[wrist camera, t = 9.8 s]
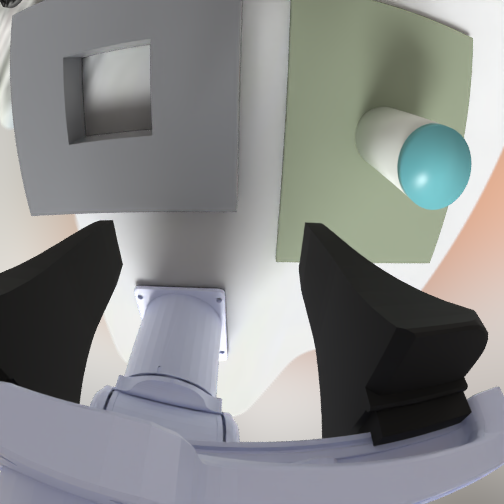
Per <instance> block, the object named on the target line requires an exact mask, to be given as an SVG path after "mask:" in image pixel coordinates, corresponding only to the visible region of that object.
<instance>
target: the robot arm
mask: <svg viewBox="0 0 504 504" xmlns="http://www.w3.org/2000/svg"><path fill="white" fill-rule="evenodd" d="M122 265H123V263H122V259H121V255H120V251H119V246H118V242H117V237H116V232H115V228H114V223H113V220H102V221H97V222H95V223H92V224H90V225H88V226H87V227H85V228H83V229H81V230H79V231H78V232H76V233H75V234H73V235H71V236H69V237H68V238H66V239H64V240H63V241H61V242H60V243H58V244H56V245H55V246H53V247H51V248H49V249H48V250H46V251H44V252H43V253H41V254H39V255H37V256H36V257H34V258H32V259H30V260H28V261H26V262H24V263H22V264H20V265H18V266H16V267H14V268H11V269H9V270H6V271H4V272H2V273H0V470H1V474H0V504H426V503H429V502H431V501H434V500H436V499H439V498H441V497H443V496H446V495H448V494H450V493H453V492H455V491H457V490H459V489H461V488H463V487H465V486H468V485H470V484H471V483H473V482H476V481H477V480H479V479H481V478H483V477H484V476H486V475H488V474H490V473H491V472H493V471H494V470H496V469H498V468H499V467H501V466H502V465H504V396H503V393H502V391H501V389H500V387H494V388H491V389H488V390H486V391H483V392H480V393H478V394H475V395H473V396H472V397H470V398H468V399H466V397H465V395H464V392H463V391H465V390H466V389H467V387H468V385H467V383H466V380H465V378H464V376H465V375H466V374H467V373H468V372H469V370H470V369H471V368H472V367H473V365H474V364H475V363H476V361H477V360H478V359H479V357H480V356H481V354H482V353H483V351H484V349H485V346H486V344H487V340H488V332H487V330H486V328H485V327H484V325H483V323H482V322H481V320H480V318H479V317H478V315H477V314H476V312H475V311H474V310H471V309H468V308H465V307H462V306H459V305H456V304H453V303H449V302H446V301H444V300H441V299H439V298H436V297H434V296H432V295H429V294H427V293H424V292H422V291H420V290H418V289H416V288H414V287H412V286H410V285H408V284H406V283H404V282H402V281H401V280H399V279H397V278H395V277H393V276H392V275H390V274H389V273H387V272H385V271H384V270H382V269H381V268H379V267H377V266H376V265H375V264H373V263H372V262H370V261H369V260H368V259H366V258H365V257H363V256H362V255H361V254H359V253H358V252H357V251H356V250H354V249H353V248H352V247H351V246H349V245H348V244H347V243H346V242H344V241H343V240H342V239H341V238H340V237H339V236H337V235H336V234H335V233H334V232H333V231H331V230H330V229H329V228H328V227H326V226H325V225H324V224H322V223H308V222H305V226H304V234H303V241H302V249H301V256H300V263H299V275H300V284H301V291H302V295H303V299H304V303H305V307H306V311H307V315H308V319H309V322H310V326H311V330H312V334H313V338H314V343H315V348H316V355H317V364H318V372H319V384H320V396H321V413H322V439H313V440H300V441H281V442H240V441H239V440H240V439H239V429H238V426H237V423H236V422H235V421H234V420H233V417H232V415H231V414H230V413H226V412H221V408H222V399H221V398H217V397H216V394H217V379H218V365H219V361H225V360H227V358H228V354H227V331H226V305H225V291H224V290H222V289H216V288H182V287H156V286H136V287H135V289H134V294H135V297H136V301H137V305H138V309H139V312H140V316H141V319H142V322H141V325H140V328H139V331H138V334H137V337H136V340H135V343H134V346H133V349H132V353H131V356H130V359H129V362H128V365H127V369H126V372H125V375H124V376H122V375H119V377H118V380H117V384H116V387H112V386H109V385H107V386H105V387H104V388H103V389H101V390H99V391H98V392H97V393H96V394H95V396H94V397H93V400H92V402H91V404H90V407H89V406H85V405H80V395H81V388H82V382H83V376H84V372H85V367H86V362H87V358H88V354H89V350H90V347H91V343H92V340H93V337H94V334H95V331H96V329H97V326H98V324H99V322H100V320H101V317H102V315H103V313H104V311H105V309H106V307H107V304H108V302H109V300H110V298H111V296H112V294H113V291H114V289H115V287H116V285H117V282H118V279H119V276H120V272H121V269H122ZM140 295H142V296H140ZM217 298H221V299H220V300H219V299H217Z"/></svg>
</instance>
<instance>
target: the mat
mask: <svg viewBox="0 0 504 504" xmlns="http://www.w3.org/2000/svg"><path fill="white" fill-rule="evenodd" d="M472 57H473V38H471V37H469V36H467V35H465V34H463V33H461V32H459V31H457V30H455V29H453V28H450V27H448V26H446V25H443V24H441V23H439V22H436V21H434V20H431V19H429V18H426V17H424V16H421V15H418V14H415V13H413V12H410V11H407V10H404V9H401V8H398V7H394V6H391V5H388V4H384V3H381V2H377V1H373V0H291V6H290V36H289V60H288V82H287V101H286V119H285V136H284V152H283V167H282V182H281V196H280V209H279V222H278V235H277V247H276V262H300V256H301V249H302V241H303V234H304V226H305V222H308V223H322V224H324V225H325V226H326V227H328V228H329V229H330V230H331V231H333V232H334V233H335V234H336V235H337V236H339V237H340V238H341V239H342V240H343V241H344V242H346V243H347V244H348V245H349V246H351V247H352V248H353V249H354V250H356V251H357V252H358V253H359V254H361V255H362V256H363V257H365V258H366V259H368V260H369V261H370V262H372V263H430V260H431V258H432V255H433V252H434V249H435V246H436V243H437V240H438V237H439V234H440V231H441V228H442V225H443V222H444V218H445V215H446V212H447V208H448V206H446V207H444V208H441V209H437V210H429V209H424V208H422V207H420V206H418V205H417V204H415V203H414V202H413V201H412V200H411V199H410V198H409V197H408V196H407V195H405V194H404V193H403V192H402V191H401V190H400V189H399V188H397V187H396V186H395V185H394V184H393V183H392V182H390V181H389V180H388V179H387V178H386V177H385V176H383V175H382V174H381V173H380V172H379V171H377V170H376V169H375V168H374V167H372V166H371V165H370V164H369V163H367V162H366V161H365V160H364V159H363V158H362V157H361V155H360V154H359V152H358V149H357V147H356V142H355V133H356V128H357V125H358V123H359V121H360V119H361V118H362V117H363V116H364V114H365V113H367V112H368V111H370V110H371V109H374V108H377V107H390V108H394V109H397V110H400V111H404V112H407V113H410V114H413V115H416V116H420V117H423V118H425V119H428V120H431V121H434V122H437V123H440V124H442V125H445V126H448V127H450V128H452V129H454V130H456V131H457V132H458V133H460V134H461V135H462V137H463V138H464V133H465V127H466V121H467V113H468V106H469V97H470V87H471V75H472Z"/></svg>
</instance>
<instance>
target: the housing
mask: <svg viewBox="0 0 504 504" xmlns="http://www.w3.org/2000/svg"><path fill="white" fill-rule="evenodd" d="M241 20H242V0H44V1H42V2H39V3H37V4H35V5H33V6H31V7H29V8H26V9H24V10H22V11H20V12H18V13H16V14H15V15H13V16H12V27H11V45H10V83H11V101H12V113H13V123H14V132H15V138H16V146H17V152H18V158H19V163H20V169H21V174H22V179H23V184H24V188H25V193H26V197H27V201H28V205H29V209H30V213H31V216H39V215H60V214H84V213H117V212H236V211H237V198H238V133H239V87H240V51H241ZM143 45H150V85H151V117H152V129H151V130H138V131H128V132H118V133H109V134H101V135H94V136H87V137H86V131H85V120H84V107H83V90H82V58H83V57H87V56H91V55H95V54H100V53H104V52H109V51H114V50H119V49H125V48H130V47H136V46H143Z"/></svg>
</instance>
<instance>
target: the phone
mask: <svg viewBox="0 0 504 504" xmlns="http://www.w3.org/2000/svg"><path fill="white" fill-rule="evenodd" d="M21 1H22V0H0V2H1V4H2V6H3V7H7V8H13V7H15V6H17V5H18V4H19V3H20V2H21Z"/></svg>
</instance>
